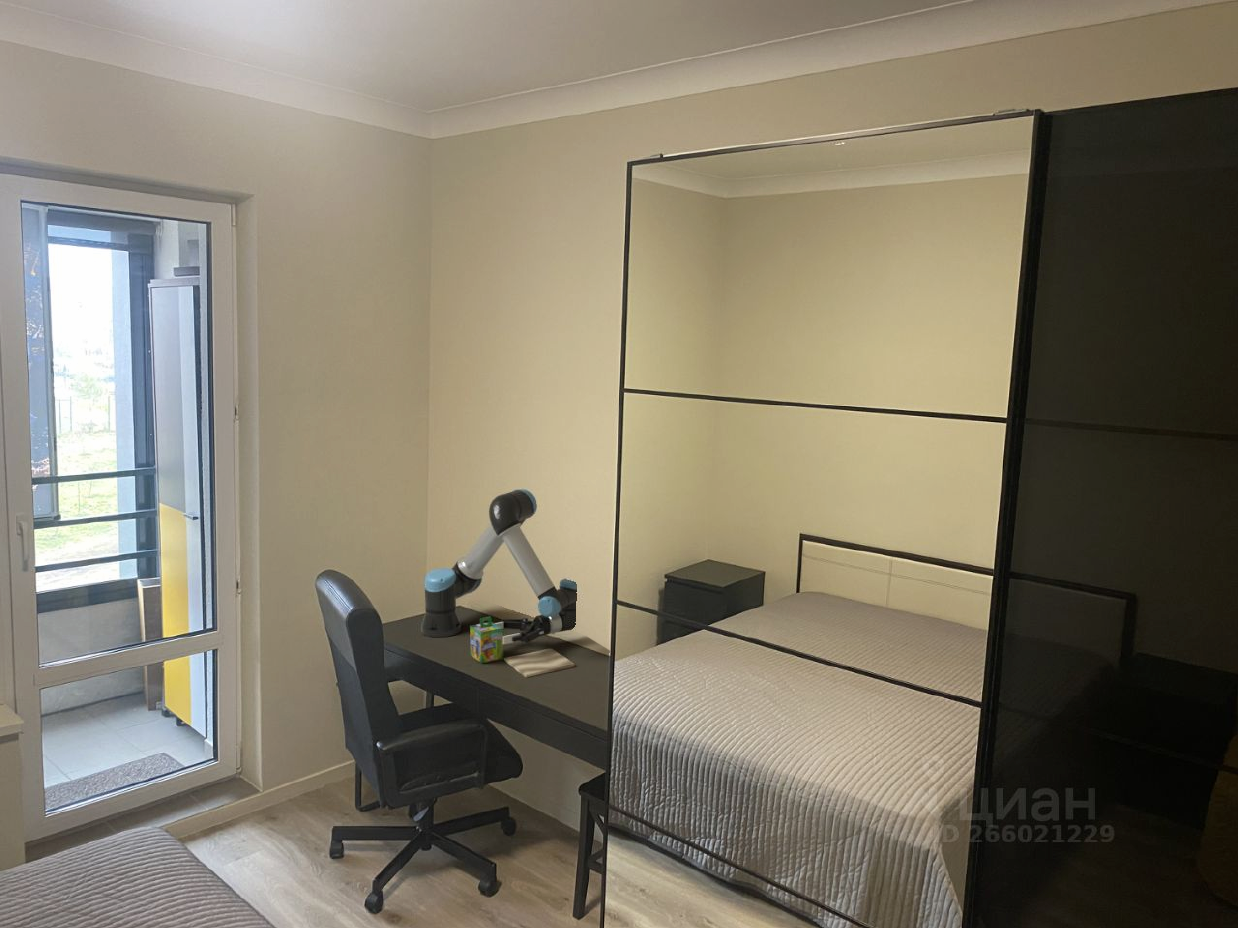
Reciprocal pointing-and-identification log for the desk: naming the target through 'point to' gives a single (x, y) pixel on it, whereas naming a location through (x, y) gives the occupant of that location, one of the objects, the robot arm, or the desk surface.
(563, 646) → the desk surface
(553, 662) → the birch board
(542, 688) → the desk surface
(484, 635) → the chalk box
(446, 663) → the desk surface
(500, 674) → the desk surface
